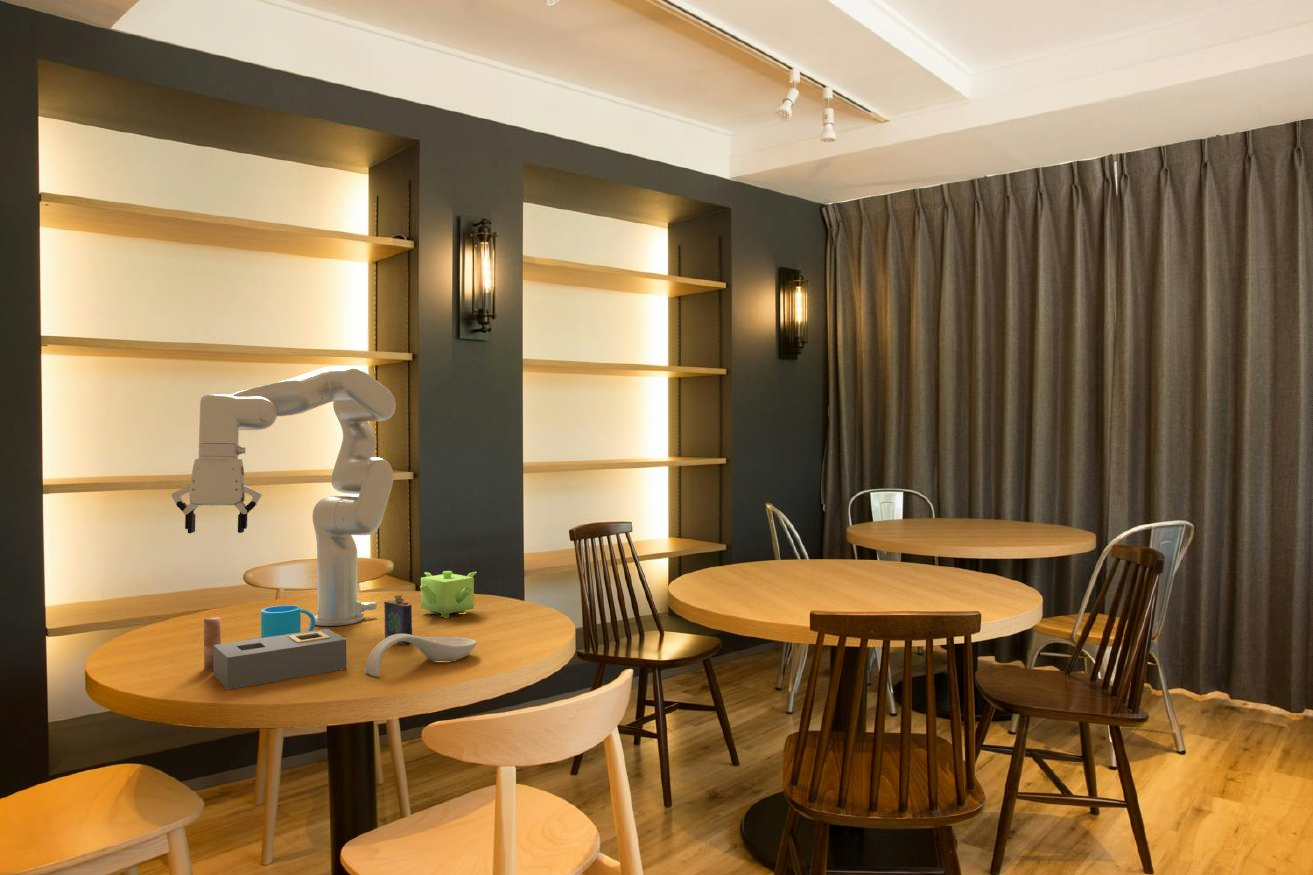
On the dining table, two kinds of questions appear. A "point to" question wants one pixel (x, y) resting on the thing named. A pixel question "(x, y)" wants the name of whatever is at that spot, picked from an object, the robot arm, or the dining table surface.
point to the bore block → (278, 658)
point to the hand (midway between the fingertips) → (216, 532)
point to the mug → (283, 620)
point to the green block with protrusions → (447, 593)
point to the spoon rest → (422, 649)
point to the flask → (398, 618)
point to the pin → (211, 640)
